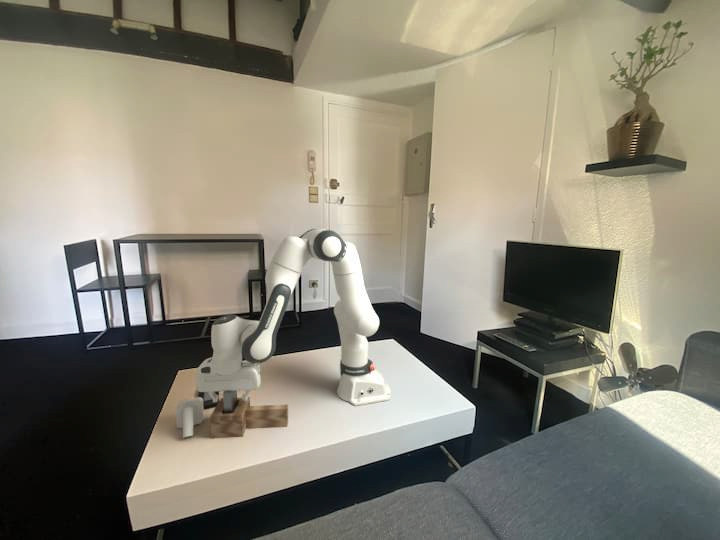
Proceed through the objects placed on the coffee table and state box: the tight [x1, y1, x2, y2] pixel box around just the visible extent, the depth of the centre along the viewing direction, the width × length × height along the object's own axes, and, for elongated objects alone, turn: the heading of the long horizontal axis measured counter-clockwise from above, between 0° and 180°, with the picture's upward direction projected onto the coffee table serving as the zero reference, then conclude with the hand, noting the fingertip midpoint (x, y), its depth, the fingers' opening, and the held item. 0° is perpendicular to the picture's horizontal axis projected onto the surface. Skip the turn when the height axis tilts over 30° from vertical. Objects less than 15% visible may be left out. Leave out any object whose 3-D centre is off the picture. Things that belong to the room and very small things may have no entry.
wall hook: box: [175, 396, 205, 439], centre depth 102 cm, size 8×10×10 cm
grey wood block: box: [222, 391, 238, 414], centre depth 102 cm, size 2×6×10 cm, turn 5°
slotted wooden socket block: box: [209, 396, 289, 439], centre depth 104 cm, size 24×10×8 cm, turn 95°
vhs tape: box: [197, 391, 220, 411], centre depth 120 cm, size 8×14×2 cm, turn 25°
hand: (230, 400), depth 102 cm, fingers open, 8 cm apart
